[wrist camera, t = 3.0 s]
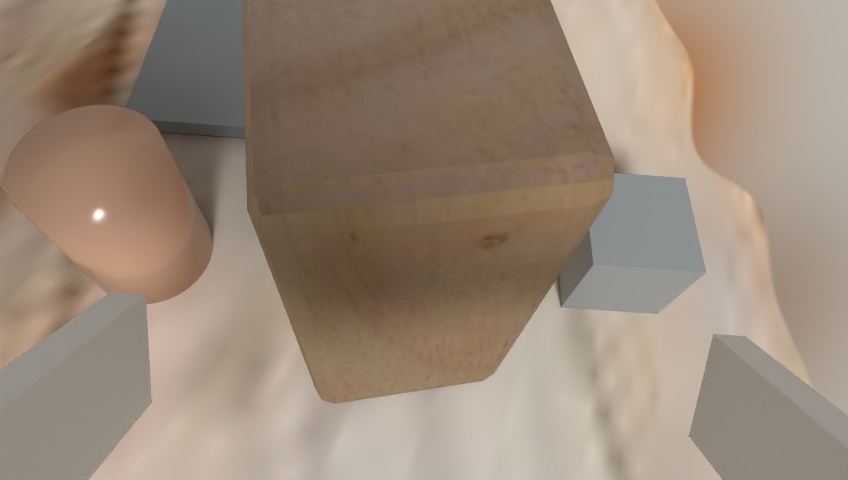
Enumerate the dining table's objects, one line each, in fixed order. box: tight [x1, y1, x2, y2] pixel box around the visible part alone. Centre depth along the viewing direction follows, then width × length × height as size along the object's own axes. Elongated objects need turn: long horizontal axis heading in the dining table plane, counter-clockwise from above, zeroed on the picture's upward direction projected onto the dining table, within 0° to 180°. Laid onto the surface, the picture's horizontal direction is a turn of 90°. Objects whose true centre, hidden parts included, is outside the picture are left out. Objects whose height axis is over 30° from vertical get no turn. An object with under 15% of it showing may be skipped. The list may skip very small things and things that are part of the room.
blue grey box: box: [558, 173, 706, 314], centre depth 34 cm, size 6×6×6 cm
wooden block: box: [242, 0, 614, 403], centre depth 25 cm, size 10×10×20 cm
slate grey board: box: [126, 0, 245, 138], centre depth 42 cm, size 18×16×1 cm
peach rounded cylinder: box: [2, 105, 213, 304], centre depth 30 cm, size 8×7×9 cm
